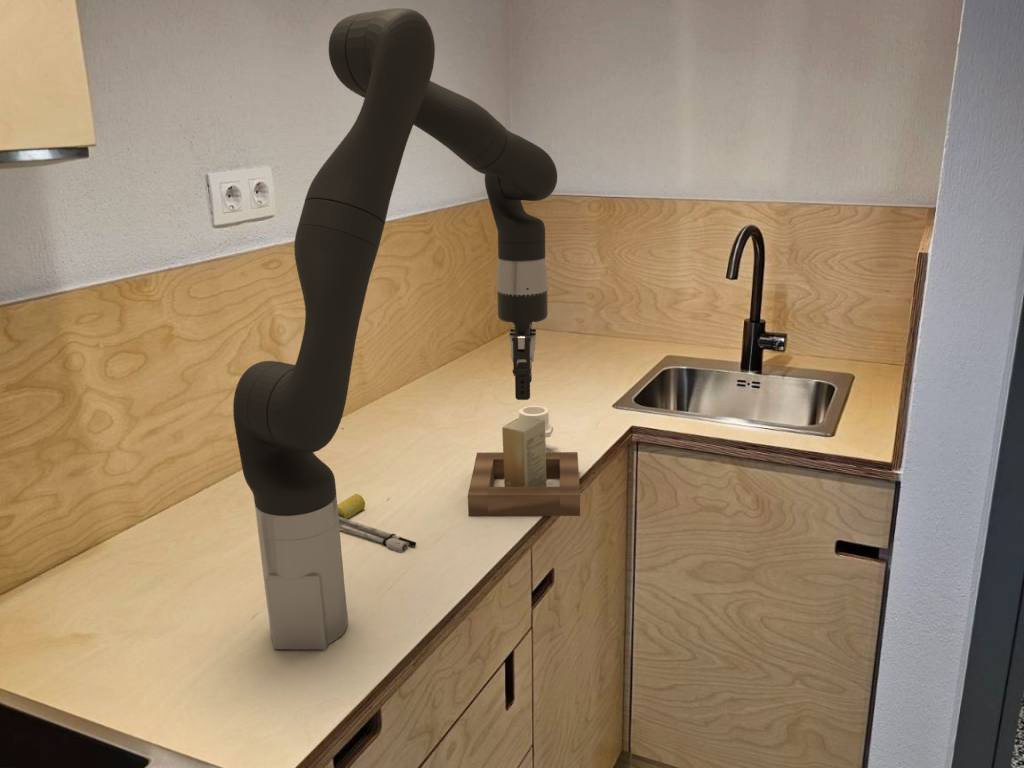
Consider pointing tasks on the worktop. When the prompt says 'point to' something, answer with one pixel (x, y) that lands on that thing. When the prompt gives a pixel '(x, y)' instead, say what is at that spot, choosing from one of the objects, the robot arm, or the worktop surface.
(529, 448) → the skincare box
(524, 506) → the brown square open frame
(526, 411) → the pipe fitting
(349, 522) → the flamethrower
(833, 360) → the worktop surface
